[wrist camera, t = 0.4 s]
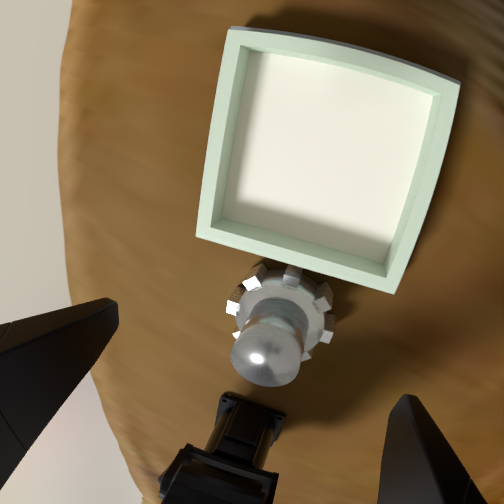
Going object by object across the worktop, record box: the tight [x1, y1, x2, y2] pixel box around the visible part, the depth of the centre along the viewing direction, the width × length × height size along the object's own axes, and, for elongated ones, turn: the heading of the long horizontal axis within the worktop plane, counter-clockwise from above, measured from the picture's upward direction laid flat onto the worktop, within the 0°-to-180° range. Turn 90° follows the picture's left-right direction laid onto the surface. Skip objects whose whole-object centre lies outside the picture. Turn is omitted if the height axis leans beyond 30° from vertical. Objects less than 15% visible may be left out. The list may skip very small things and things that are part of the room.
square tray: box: [196, 26, 461, 294], centre depth 16 cm, size 13×13×4 cm
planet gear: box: [226, 263, 335, 387], centre depth 20 cm, size 7×7×6 cm
